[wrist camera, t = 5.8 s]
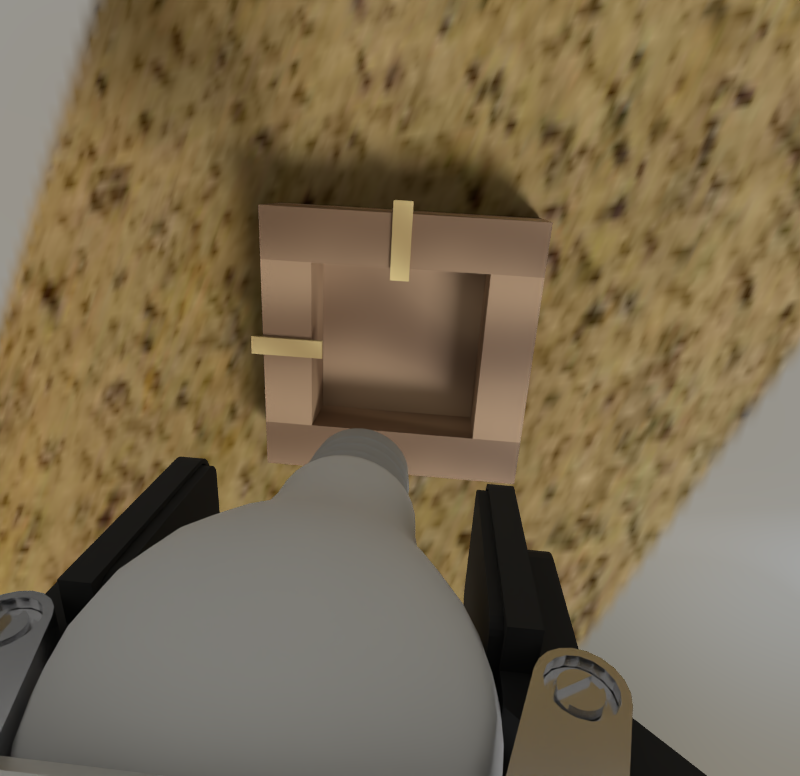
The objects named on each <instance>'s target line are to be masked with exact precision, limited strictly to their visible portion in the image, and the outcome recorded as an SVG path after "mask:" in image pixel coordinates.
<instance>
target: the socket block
mask: <svg viewBox="0 0 800 776" xmlns="http://www.w3.org/2000/svg"><path fill="white" fill-rule="evenodd" d="M413 205H414V201H403V200H394V202H393V209H377V208H360V207H344V206H327V205H310V204H294V203H271V204H261V205H258V213H259V240H260V267H261V293H262V320H263V336H253V335H252V336H251V348H252V354H264V373H265V400H266V427H267V454H268V462H269V463H281V464H292V465H303V466H304V465H306V464H308V463H309V462H310V460H311V459H312V457H313V456H314V454H315V452H316V451H317V450H318V449H319V448H320V447H321V445H322V444H323V443H324V442H325V441H326V440H327V439H328V438H329V437H331V436H332V435H334V434H335V433H338V432H340V431H343V430H347V429H353V428H362V429H368V430H373V431H375V432H378V433H381V434H382V435H384V436H386V437H387V438H389V439H390V440H391V441H393V442H394V443H395V444H396V445H397V446H398V448H399V449H400V450H401V451H402V453H403V455H404V457H405V459H406V462H407V466H408V475H417V476H429V477H440V478H451V479H463V480H474V481H486V482H497V483H508V484H514V481H515V474H516V467H517V461H518V454H519V447H520V440H521V434H522V427H523V420H524V413H525V406H526V400H527V393H528V386H529V379H530V373H531V366H532V359H533V352H534V345H535V339H536V332H537V325H538V318H539V311H540V305H541V298H542V291H543V284H544V278H545V271H546V264H547V257H548V250H549V244H550V237H551V230H552V222H549V221H547V220H544V219H541V218H526V217H510V216H493V215H476V214H460V213H443V212H427V211H413Z"/></svg>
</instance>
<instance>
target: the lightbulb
mask: <svg viewBox="0 0 800 776" xmlns="http://www.w3.org/2000/svg"><path fill="white" fill-rule="evenodd" d="M408 491H409V480H408V466H407V462H406V459H405V457H404V455H403V453H402V451H401V450H400V449H399V448H398V446H397V445H396V444H395V443H394V442H393V441H391V440H390V439H389V438H387V437H386V436H384V435H382V434H381V433H378V432H375V431H373V430H368V429H362V428H353V429H347V430H343V431H340V432H338V433H335V434H334V435H332V436H331V437H329V438H328V439H327V440H326V441H325V442H324V443H323V444H322V445H321V447H320V448H319V449H318V450H317V451H316V452H315V454H314V456H313V457H312V459H311V460H310V462H309V463H308V464H306V465H304V466H303V467H301V468H300V469H298V470H297V471H296V472H295V473H294V474H293V475H292V476H291V477H290V478H289V479H288V480H287V481H286V482H285V484H284V485H283V487H282V488H281V489H280V491H279V492H278V494H276V495H275V496H274V497H273V498H272V499H271V500H268V501H262V502H256V503H250V504H247V505H243V506H240V507H237V508H234V509H231V510H228V511H224V512H221V513H218V514H215V515H212V516H209V517H207V518H204V519H201V520H199V521H196V522H193V523H191V524H188V525H186V526H183V527H180V528H179V529H177V530H176V531H174V532H173V533H171V534H170V535H168V536H167V537H165V538H164V539H162V540H161V541H159V542H158V543H156V544H155V545H153V546H152V547H150V548H149V549H147V550H146V551H144V552H143V553H142V554H140V555H139V556H137V557H136V558H134V559H133V560H132V561H130V562H129V563H127V564H126V565H124V566H123V567H121V568H120V569H119V570H117V571H116V573H115V574H114V575H113V576H112V577H111V578H110V579H109V580H108V581H107V582H106V584H105V585H104V586H103V587H102V588H101V589H100V590H99V591H98V592H97V594H96V595H95V596H94V597H93V598H92V599H91V600H90V601H89V603H88V604H87V605H86V606H85V607H84V608H83V609H82V610H81V612H80V613H79V614H78V615H77V616H76V617H75V618H74V620H73V621H72V622H71V623H70V624H69V625H68V627H67V628H66V630H65V632H64V634H63V635H62V637H61V639H60V641H59V642H58V644H57V646H56V648H55V649H54V651H53V653H52V655H51V656H50V658H49V660H48V662H47V663H46V665H45V667H44V669H43V671H42V673H41V675H40V677H39V679H38V681H37V684H36V686H35V688H34V690H33V692H32V694H31V696H30V699H29V701H28V704H27V707H26V709H25V712H24V715H23V717H22V720H21V723H20V725H19V728H18V731H17V733H16V736H15V738H14V741H13V744H12V750H11V757H15V758H23V759H31V760H40V761H48V762H57V763H65V764H74V765H82V766H91V767H99V768H108V769H116V770H124V771H132V772H140V773H148V774H156V775H164V776H503V750H504V743H503V732H502V721H501V710H500V703H499V699H498V695H497V691H496V687H495V683H494V678H493V674H492V671H491V668H490V665H489V662H488V659H487V657H486V654H485V651H484V648H483V645H482V642H481V639H480V636H479V634H478V632H477V630H476V628H475V626H474V624H473V622H472V620H471V618H470V616H469V615H468V613H467V611H466V609H465V607H464V605H463V604H462V602H461V601H460V599H459V598H458V597H457V595H456V594H455V593H454V591H453V590H452V589H451V587H450V586H449V585H448V583H447V582H446V581H445V579H444V578H443V577H442V575H441V574H440V573H439V571H438V570H437V569H436V568H435V566H434V565H433V564H432V563H431V562H430V560H429V559H428V558H427V557H426V556H425V554H424V553H423V552H422V551H421V550H420V549H419V548H418V547H417V544H416V539H415V514H414V510H413V506H412V502H411V500H410V498H409V496H408Z"/></svg>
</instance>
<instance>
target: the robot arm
mask: <svg viewBox="0 0 800 776" xmlns="http://www.w3.org/2000/svg"><path fill="white" fill-rule="evenodd" d="M218 513H220V512H219V499H218V487H217V474H216V469H215V467H214V466H209V463H208V461H207V460H206V459H201V458H190V457H178V458H177V459H176V460H175V461H174V462H173V463H172V464H171V465H170V466H169V467H168V468H167V469H166V470H165V471H164V472H163V473H162V474H161V475H160V476H159V477H158V478H157V479H156V480H155V481H154V482H153V483H152V484H151V485H150V486H149V487H148V488H147V489H146V490H145V491H144V492H143V493H142V494H141V495H140V496H139V497H138V498H137V499H136V500H135V501H134V502H133V503H132V504H131V505H130V506H129V507H128V508H127V509H126V510H125V511H124V512H123V513H122V514H121V515H120V516H119V517H118V518H117V519H116V520H115V521H114V522H113V523H112V525H111V526H110V527H109V528H108V529H107V530H106V531H105V532H104V533H103V534H102V535H101V536H100V537H99V538H98V539H97V540H96V541H95V542H94V543H93V544H92V545H91V546H90V547H89V548H88V549H87V550H86V551H85V552H84V553H83V554H82V555H81V556H80V557H79V558H78V559H77V560H76V561H75V562H74V563H73V564H72V565H71V566H70V567H69V568H68V569H67V570H66V571H65V572H64V573H63V574H62V575H61V576H60V577H59V578H58V579H57V582H56V583H55V585H54V586H53V587H52V588H51V589H50V590H49V591H48V592H47V593H46V594H44V593H40V592H35V591H17V592H12V593H7V594H3V595H0V776H164V775H156V774H148V773H140V772H132V771H124V770H116V769H108V768H99V767H91V766H82V765H74V764H65V763H57V762H48V761H40V760H31V759H23V758H15V757H11V750H12V744H13V741H14V738H15V736H16V733H17V731H18V728H19V725H20V723H21V720H22V717H23V715H24V712H25V709H26V707H27V704H28V701H29V699H30V696H31V694H32V692H33V690H34V688H35V686H36V684H37V681H38V679H39V677H40V675H41V673H42V671H43V669H44V667H45V665H46V663H47V662H48V660H49V658H50V656H51V655H52V653H53V651H54V649H55V648H56V646H57V644H58V642H59V641H60V639H61V637H62V635H63V634H64V632H65V630H66V628H67V627H68V625H69V624H70V623H71V622H72V621H73V620H74V618H75V617H76V616H77V615H78V614H79V613H80V612H81V610H82V609H83V608H84V607H85V606H86V605H87V604H88V603H89V601H90V600H91V599H92V598H93V597H94V596H95V595H96V594H97V592H98V591H99V590H100V589H101V588H102V587H103V586H104V585H105V584H106V582H107V581H108V580H109V579H110V578H111V577H112V576H113V575H114V574H115V573H116V571H117V570H119V569H120V568H121V567H123V566H124V565H126V564H127V563H129V562H130V561H132V560H133V559H134V558H136V557H137V556H139V555H140V554H142V553H143V552H144V551H146V550H147V549H149V548H150V547H152V546H153V545H155V544H156V543H158V542H159V541H161V540H162V539H164V538H165V537H167V536H168V535H170V534H171V533H173V532H174V531H176V530H177V529H179V528H180V527H183V526H186V525H188V524H191V523H193V522H196V521H199V520H201V519H204V518H207V517H209V516H212V515H215V514H218ZM464 607H465V609H466V611H467V613H468V615H469V616H470V618H471V620H472V622H473V624H474V626H475V628H476V630H477V632H478V634H479V636H480V639H481V642H482V645H483V648H484V651H485V654H486V657H487V659H488V662H489V665H490V668H491V671H492V674H493V678H494V683H495V687H496V691H497V695H498V699H499V703H500V710H501V721H502V732H503V743H504V750H503V776H707V775H705V774H704V773H703V772H701V771H700V770H699V769H698V768H696V767H695V766H694V765H692V764H691V763H690V762H689V761H687V760H686V759H685V758H683V757H682V756H681V755H680V754H678V753H677V752H676V751H674V750H673V749H672V748H671V747H669V746H668V745H667V744H665V743H664V742H663V741H661V740H660V739H659V738H658V737H656V736H655V735H654V734H652V733H651V732H650V731H649V730H647V729H646V728H645V727H643V726H642V725H641V724H640V723H638V722H637V721H636V720H634V719H633V718H632V714H633V704H632V696H631V692H630V690H629V688H628V686H627V684H626V682H625V680H624V679H623V678H622V676H621V675H620V674H619V673H618V672H617V671H616V669H615V668H614V667H612V666H611V665H609V664H608V663H607V662H606V661H604V660H603V659H601V658H600V657H598V656H595V655H593V654H591V653H589V652H587V651H583V650H579V649H578V646H577V642H576V639H575V635H574V631H573V628H572V624H571V621H570V617H569V614H568V610H567V606H566V603H565V599H564V596H563V592H562V588H561V585H560V581H559V578H558V574H557V571H556V567H555V563H554V560H553V557H552V555H551V553H550V552H545V551H534V550H527V546H526V541H525V536H524V532H523V527H522V522H521V518H520V513H519V509H518V504H517V499H516V495H515V490H514V487H513V486H504V485H493V484H487V487H486V491H484V490H477V492H476V498H475V507H474V515H473V523H472V532H471V540H470V548H469V557H468V565H467V573H466V582H465V590H464Z"/></svg>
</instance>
